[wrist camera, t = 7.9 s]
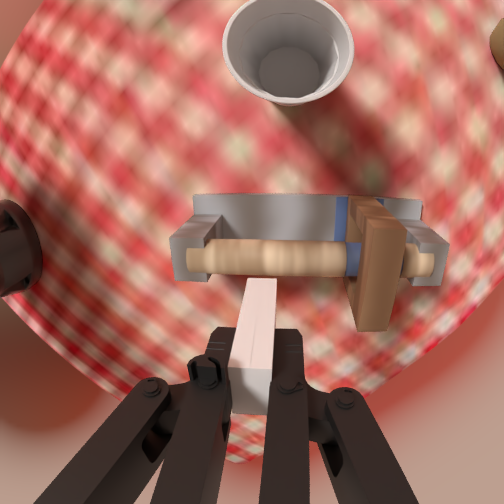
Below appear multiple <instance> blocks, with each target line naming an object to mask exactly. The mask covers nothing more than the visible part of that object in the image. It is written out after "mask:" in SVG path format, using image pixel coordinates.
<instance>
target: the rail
mask: <svg viewBox="0 0 504 504" xmlns="http://www.w3.org/2000/svg"><path fill="white" fill-rule="evenodd" d="M374 198H375V199H376V200H377V201H378V202H379V203H380V204H382V205H383V206H384V207H385V208H386V209H387V210H388V211H389V212H390V213H391V214H392V215H393V216H394V217H395V218H396V219H397V220H398V221H399V222H400V223H401V224H402V225H403V226H404V227H405V228H406V229H407V230H408V231H407V238H406V244H405V250H404V256H403V261H402V267H401V272H400V277H399V278H408V280H409V281H410V283H411V284H412V286H441V282H442V278H443V273H444V269H445V265H446V260H447V255H448V251H449V245H450V244H449V243H448V242H446V241H445V240H444V239H443V238H442V237H441V236H439V235H438V234H437V233H436V232H435V231H433V230H432V229H431V228H430V227H428V226H427V225H426V224H425V223H424V222H422V221H421V220H420V217H421V209H422V201H421V200H417V199H404V198H389V197H374ZM347 206H348V195H327V194H282V193H230V194H194V195H193V207H194V215H193V216H192V217H191V218H190V219H189V220H188V221H187V222H185V223H184V224H183V225H182V226H181V227H180V228H179V229H178V230H177V231H176V232H175V233H174V234H173V235H172V236H171V237H170V238H169V241H170V249H171V256H172V263H173V270H174V277H175V281H194V282H208V280H209V278H210V276H211V274H233V275H265V276H306V277H344V276H357V275H358V267H359V260H360V252H361V243H352V242H345V232H346V220H347Z"/></svg>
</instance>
